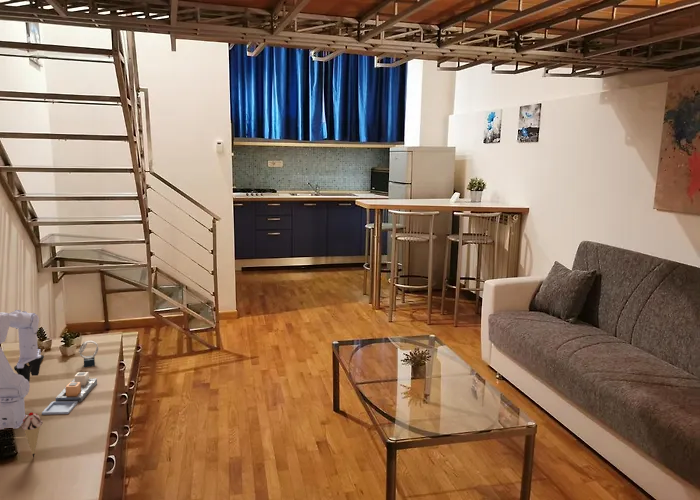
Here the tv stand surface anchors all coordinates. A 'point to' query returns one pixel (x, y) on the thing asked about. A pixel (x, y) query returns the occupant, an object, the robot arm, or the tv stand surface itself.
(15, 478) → the tv stand surface
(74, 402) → the tray
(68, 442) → the tv stand surface
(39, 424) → the ice cream cone
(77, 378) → the beige box
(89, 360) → the watch
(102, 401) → the tv stand surface
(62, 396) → the grey rectangular holder
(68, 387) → the plug
